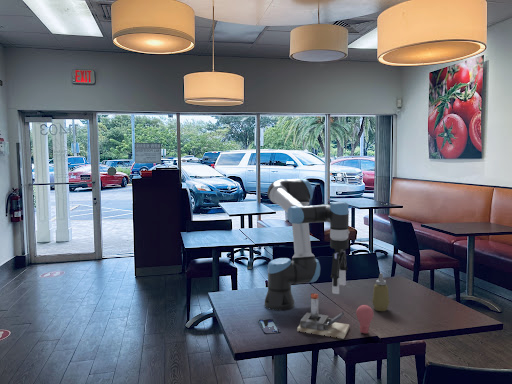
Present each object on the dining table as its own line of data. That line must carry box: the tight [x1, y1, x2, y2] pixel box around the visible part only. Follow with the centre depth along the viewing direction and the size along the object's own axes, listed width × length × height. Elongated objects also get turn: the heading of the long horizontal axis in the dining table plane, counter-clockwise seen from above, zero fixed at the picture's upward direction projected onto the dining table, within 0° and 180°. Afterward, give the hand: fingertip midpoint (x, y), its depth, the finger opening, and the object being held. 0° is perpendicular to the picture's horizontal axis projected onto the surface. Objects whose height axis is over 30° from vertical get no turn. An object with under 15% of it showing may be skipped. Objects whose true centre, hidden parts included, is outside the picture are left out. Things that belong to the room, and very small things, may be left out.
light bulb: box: [355, 304, 375, 334], centre depth 174 cm, size 7×7×12 cm
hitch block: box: [296, 312, 350, 340], centre depth 178 cm, size 20×12×4 cm, turn 67°
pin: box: [310, 292, 319, 321], centre depth 180 cm, size 3×3×14 cm
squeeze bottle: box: [371, 272, 390, 312], centre depth 201 cm, size 8×8×18 cm
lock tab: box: [327, 311, 345, 327], centre depth 176 cm, size 9×5×1 cm
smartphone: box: [257, 317, 280, 334], centre depth 182 cm, size 7×1×15 cm
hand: (339, 289), depth 174 cm, fingers open, 12 cm apart
